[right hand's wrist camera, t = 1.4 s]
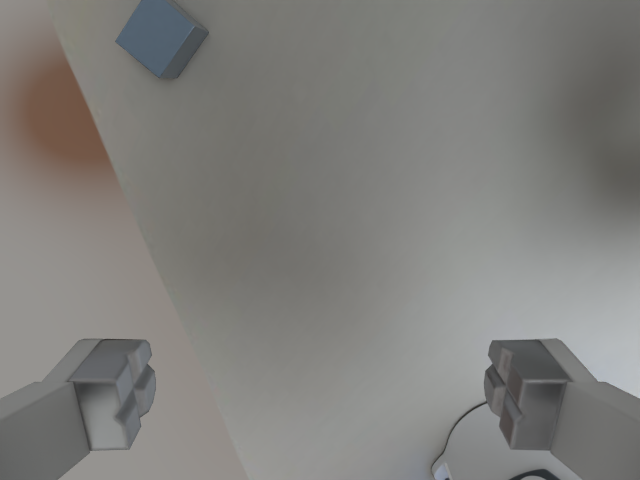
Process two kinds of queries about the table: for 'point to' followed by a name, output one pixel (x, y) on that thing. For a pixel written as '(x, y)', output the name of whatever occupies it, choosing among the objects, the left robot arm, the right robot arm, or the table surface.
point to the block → (162, 37)
